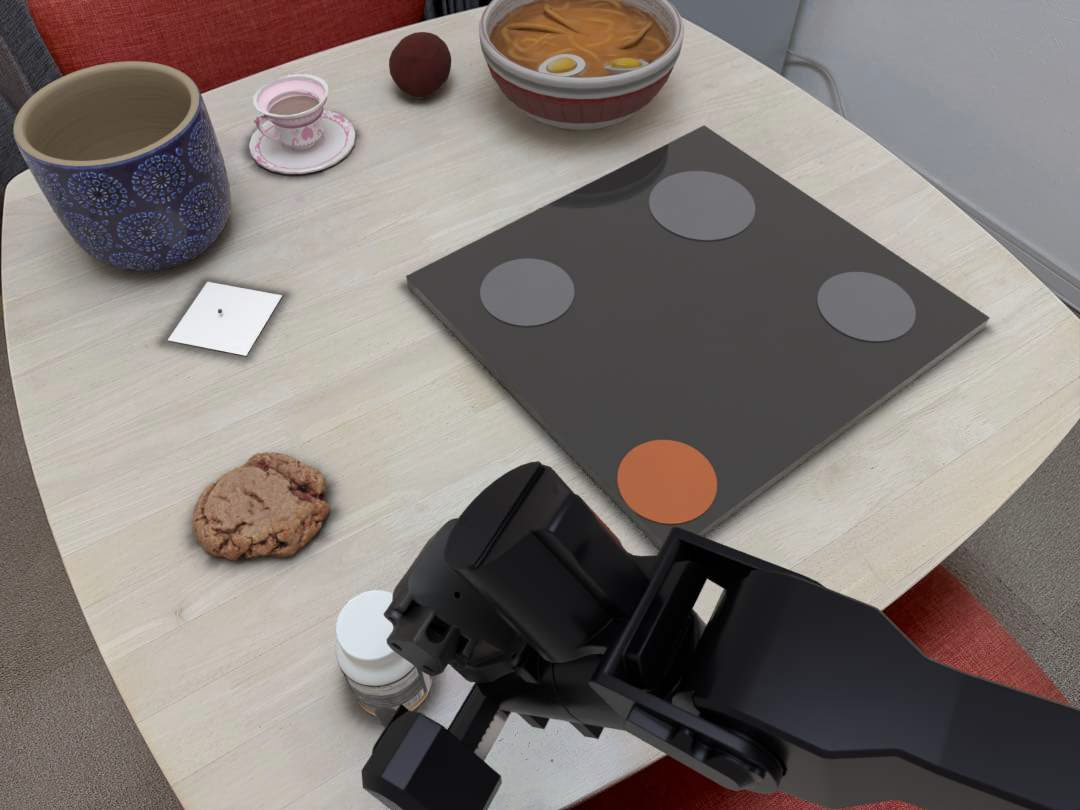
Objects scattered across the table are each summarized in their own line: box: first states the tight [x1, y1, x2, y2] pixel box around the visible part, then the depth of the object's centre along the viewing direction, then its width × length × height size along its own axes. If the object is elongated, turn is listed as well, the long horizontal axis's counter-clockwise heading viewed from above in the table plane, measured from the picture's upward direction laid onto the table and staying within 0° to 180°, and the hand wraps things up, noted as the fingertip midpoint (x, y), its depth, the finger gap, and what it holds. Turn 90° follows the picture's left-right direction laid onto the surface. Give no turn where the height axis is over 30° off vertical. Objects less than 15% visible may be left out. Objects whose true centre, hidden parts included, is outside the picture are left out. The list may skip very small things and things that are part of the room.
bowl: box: [478, 0, 685, 131], centre depth 102 cm, size 23×23×10 cm
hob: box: [405, 125, 991, 551], centre depth 85 cm, size 38×40×2 cm
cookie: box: [191, 451, 331, 561], centre depth 70 cm, size 10×11×3 cm
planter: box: [12, 60, 232, 272], centre depth 86 cm, size 16×17×15 cm
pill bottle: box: [334, 589, 434, 717], centre depth 59 cm, size 6×6×10 cm
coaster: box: [167, 281, 283, 357], centre depth 84 cm, size 8×8×1 cm
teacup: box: [248, 73, 357, 175], centre depth 99 cm, size 12×12×6 cm
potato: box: [388, 31, 452, 99], centre depth 106 cm, size 7×8×7 cm
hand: (425, 646), depth 53 cm, fingers open, 9 cm apart
